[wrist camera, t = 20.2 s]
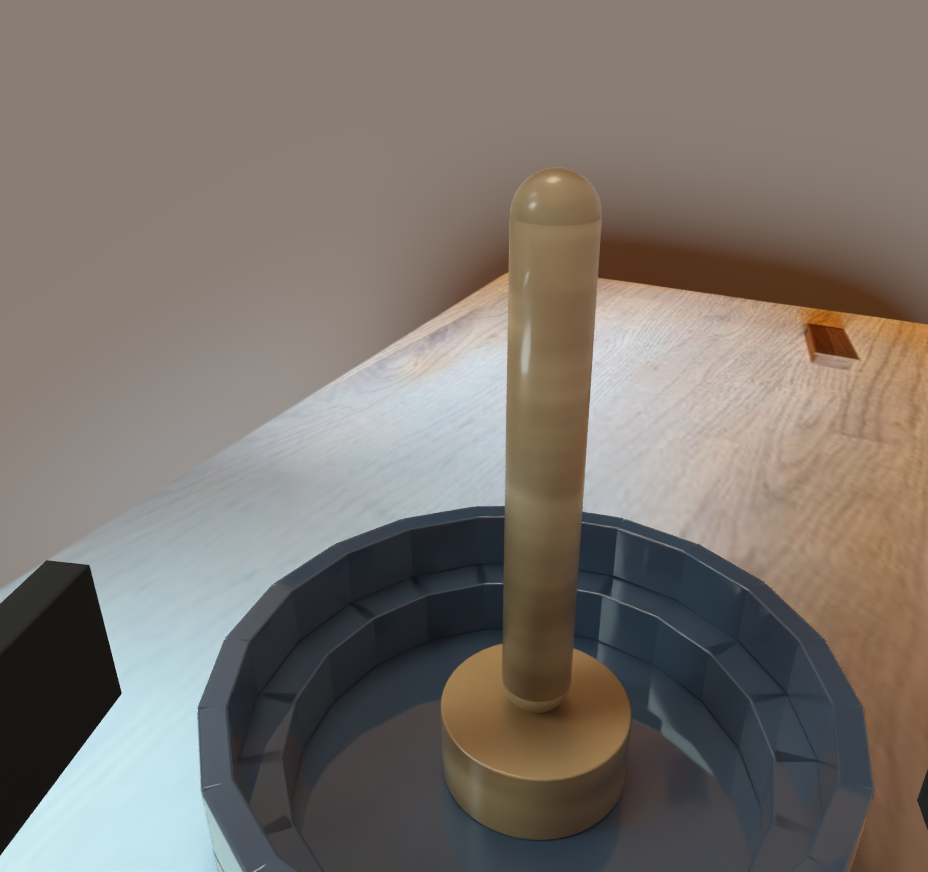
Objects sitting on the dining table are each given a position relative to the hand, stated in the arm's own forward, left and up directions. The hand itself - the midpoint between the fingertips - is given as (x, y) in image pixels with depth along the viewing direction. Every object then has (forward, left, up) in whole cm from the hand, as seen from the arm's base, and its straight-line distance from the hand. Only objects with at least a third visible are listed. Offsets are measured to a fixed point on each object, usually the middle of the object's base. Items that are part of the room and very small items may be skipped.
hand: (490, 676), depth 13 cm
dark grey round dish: (-7, +4, -12) cm, 15 cm away
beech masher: (-8, +4, -11) cm, 14 cm away
